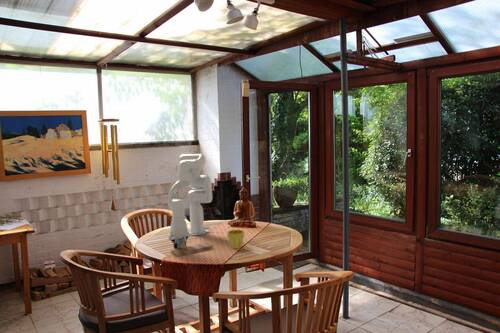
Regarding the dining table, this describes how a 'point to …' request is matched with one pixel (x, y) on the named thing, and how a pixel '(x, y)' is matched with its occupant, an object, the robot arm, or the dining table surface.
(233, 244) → the plant pot
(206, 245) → the board
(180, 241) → the wooden handled gray mallet
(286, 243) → the dining table surface
